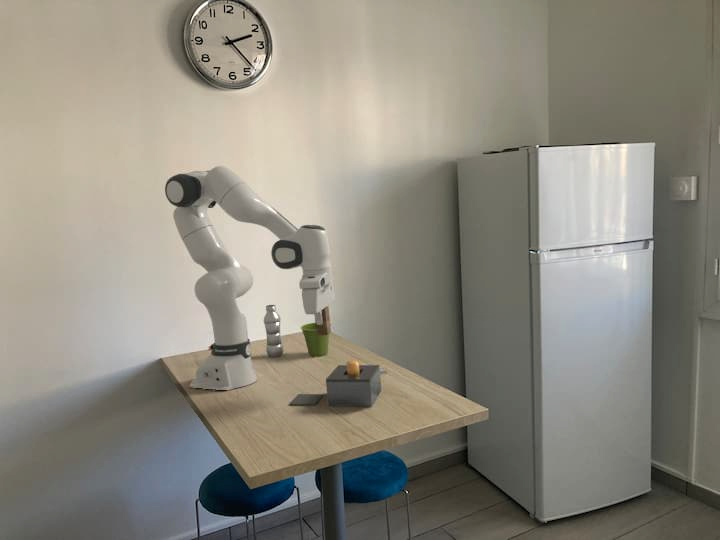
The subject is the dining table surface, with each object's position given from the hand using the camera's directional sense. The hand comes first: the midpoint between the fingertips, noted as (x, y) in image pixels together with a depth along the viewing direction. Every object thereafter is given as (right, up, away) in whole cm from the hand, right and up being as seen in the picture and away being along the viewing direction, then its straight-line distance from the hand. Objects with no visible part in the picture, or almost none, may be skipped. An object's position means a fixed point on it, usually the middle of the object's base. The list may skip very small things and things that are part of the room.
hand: (322, 322), depth 174 cm
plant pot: (-4, -17, +45) cm, 48 cm away
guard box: (+10, -22, -6) cm, 25 cm away
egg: (+10, -17, -6) cm, 21 cm away
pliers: (+13, -20, +15) cm, 28 cm away
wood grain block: (0, -4, 0) cm, 4 cm away
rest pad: (-4, -23, -5) cm, 24 cm away
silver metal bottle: (-21, -18, +47) cm, 54 cm away
